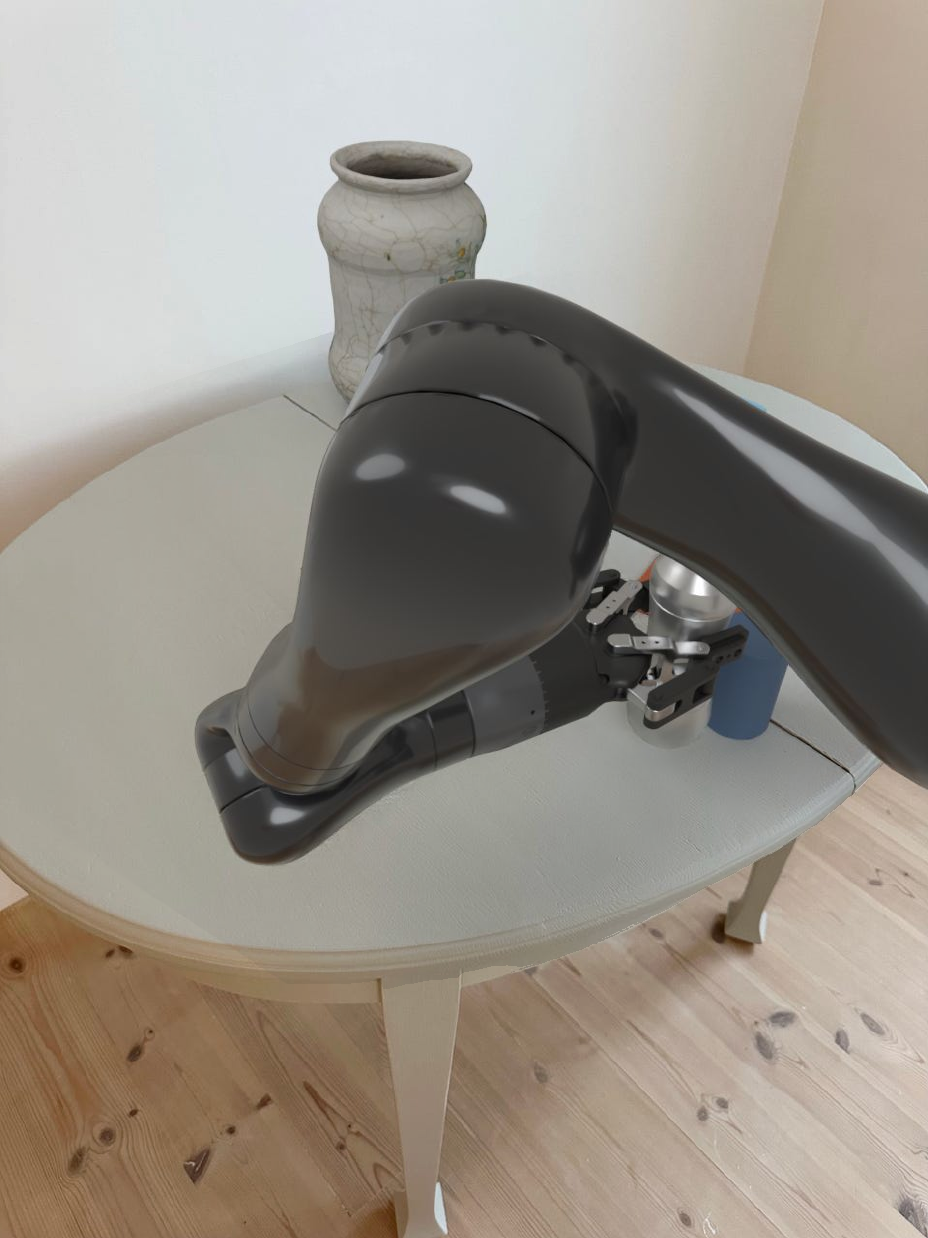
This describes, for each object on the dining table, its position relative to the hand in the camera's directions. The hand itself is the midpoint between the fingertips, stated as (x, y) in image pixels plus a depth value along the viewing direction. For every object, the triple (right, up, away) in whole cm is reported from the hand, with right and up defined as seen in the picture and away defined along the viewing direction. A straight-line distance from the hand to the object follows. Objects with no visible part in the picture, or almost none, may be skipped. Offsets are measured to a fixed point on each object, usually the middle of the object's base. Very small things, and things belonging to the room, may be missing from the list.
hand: (712, 610), depth 69 cm
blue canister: (+5, -9, +11) cm, 15 cm away
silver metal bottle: (-2, -9, +6) cm, 11 cm away
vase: (-25, +23, +48) cm, 59 cm away
